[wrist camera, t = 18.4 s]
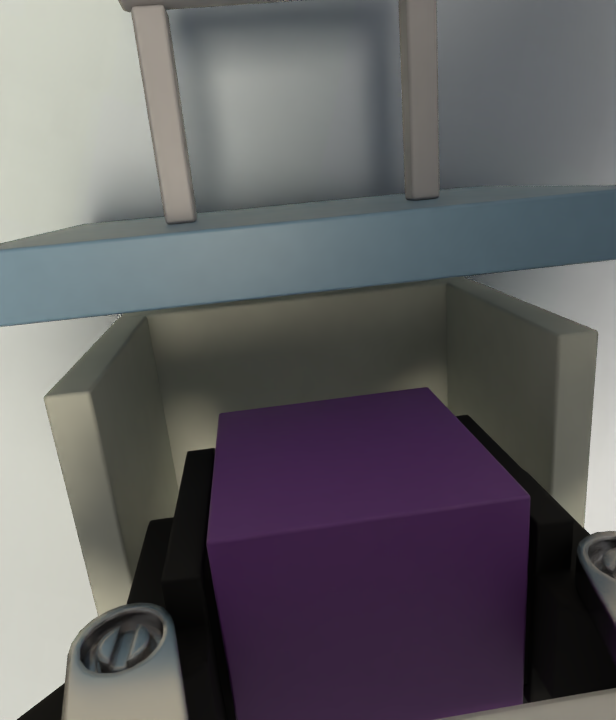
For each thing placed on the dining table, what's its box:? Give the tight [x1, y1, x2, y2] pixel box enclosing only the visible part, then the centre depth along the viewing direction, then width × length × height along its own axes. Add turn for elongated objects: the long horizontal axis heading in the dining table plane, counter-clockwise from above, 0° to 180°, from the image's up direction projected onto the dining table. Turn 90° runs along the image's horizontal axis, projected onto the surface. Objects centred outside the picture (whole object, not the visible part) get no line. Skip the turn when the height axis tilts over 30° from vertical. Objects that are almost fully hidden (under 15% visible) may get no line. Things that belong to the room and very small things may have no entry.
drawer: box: [0, 0, 616, 616], centre depth 14 cm, size 19×11×7 cm, turn 5°
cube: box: [206, 387, 530, 720], centre depth 10 cm, size 4×4×4 cm
